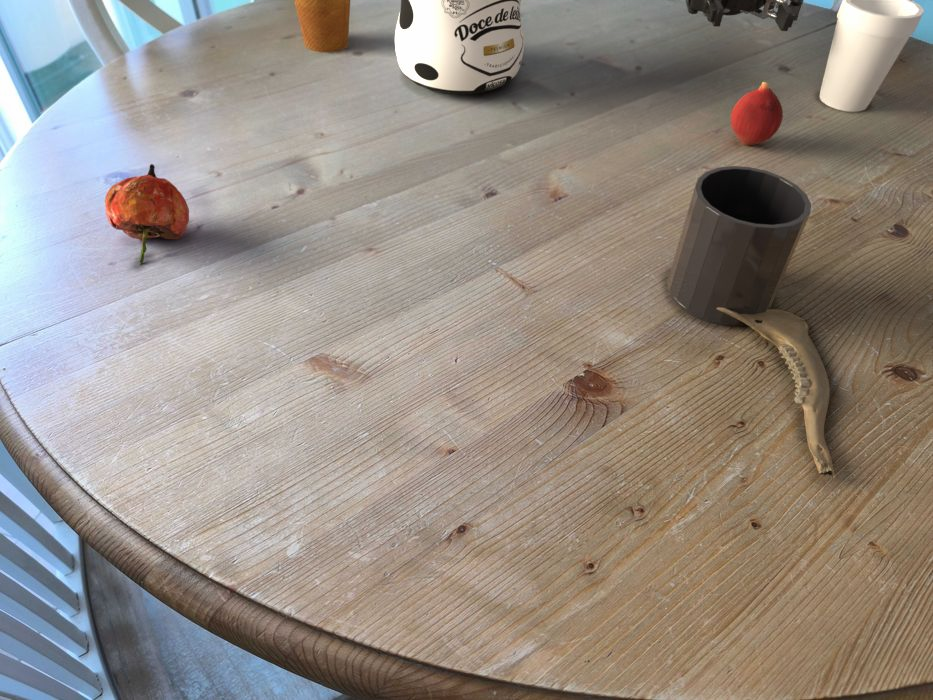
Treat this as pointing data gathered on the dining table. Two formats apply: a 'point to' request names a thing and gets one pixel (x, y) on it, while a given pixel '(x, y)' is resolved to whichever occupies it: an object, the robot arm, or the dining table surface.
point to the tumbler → (736, 243)
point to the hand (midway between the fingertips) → (753, 21)
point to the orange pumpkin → (147, 208)
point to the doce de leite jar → (460, 43)
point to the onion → (757, 116)
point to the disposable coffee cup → (324, 24)
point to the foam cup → (865, 49)
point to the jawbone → (799, 373)
